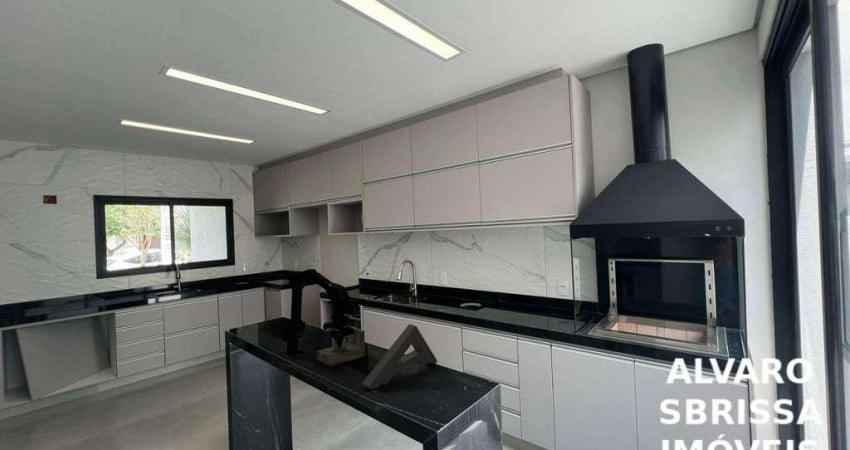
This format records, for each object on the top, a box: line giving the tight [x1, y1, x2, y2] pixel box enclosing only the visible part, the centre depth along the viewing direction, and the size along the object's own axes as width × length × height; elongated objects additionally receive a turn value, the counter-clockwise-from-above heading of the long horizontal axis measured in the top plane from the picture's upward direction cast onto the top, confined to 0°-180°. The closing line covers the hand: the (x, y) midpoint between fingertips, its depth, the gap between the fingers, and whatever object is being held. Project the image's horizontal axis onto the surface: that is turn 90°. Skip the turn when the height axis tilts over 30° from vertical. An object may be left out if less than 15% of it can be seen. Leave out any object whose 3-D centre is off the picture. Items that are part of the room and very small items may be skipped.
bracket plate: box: [331, 336, 347, 353], centre depth 161 cm, size 2×6×8 cm, turn 135°
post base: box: [316, 325, 366, 368], centre depth 161 cm, size 12×18×12 cm, turn 135°
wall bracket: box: [361, 323, 438, 391], centre depth 141 cm, size 22×4×30 cm
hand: (338, 346), depth 160 cm, fingers closed on bracket plate, 2 cm apart
